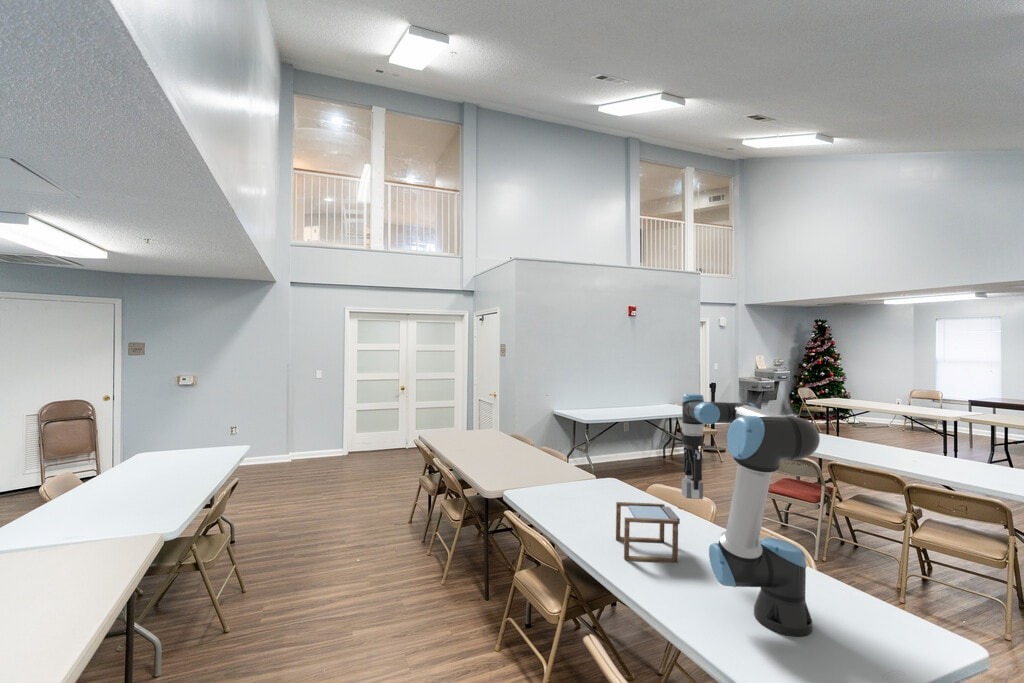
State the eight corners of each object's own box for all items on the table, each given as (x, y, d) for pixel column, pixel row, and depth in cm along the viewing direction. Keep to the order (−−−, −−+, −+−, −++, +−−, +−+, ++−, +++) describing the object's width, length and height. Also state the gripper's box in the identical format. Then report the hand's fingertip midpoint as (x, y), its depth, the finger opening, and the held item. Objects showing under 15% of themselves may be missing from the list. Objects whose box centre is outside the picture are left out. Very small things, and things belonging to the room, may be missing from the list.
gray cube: (703, 498, 171) (703, 482, 171) (686, 498, 171) (686, 482, 171) (697, 494, 177) (697, 478, 177) (681, 493, 177) (681, 478, 177)
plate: (680, 525, 176) (680, 519, 176) (636, 523, 177) (636, 518, 177) (668, 510, 192) (668, 506, 192) (628, 509, 193) (628, 504, 193)
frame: (677, 562, 174) (678, 521, 174) (624, 560, 175) (625, 518, 175) (663, 540, 194) (663, 503, 194) (615, 538, 195) (616, 501, 195)
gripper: (712, 439, 165) (711, 503, 164) (694, 430, 184) (693, 488, 183) (691, 438, 165) (690, 502, 165) (675, 430, 184) (674, 487, 184)
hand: (692, 495), depth 174 cm, fingers closed on gray cube, 6 cm apart
